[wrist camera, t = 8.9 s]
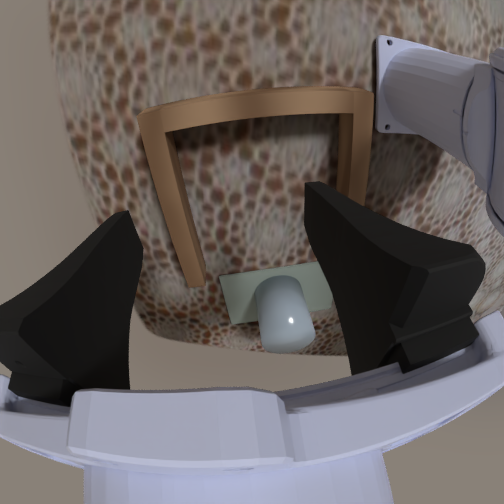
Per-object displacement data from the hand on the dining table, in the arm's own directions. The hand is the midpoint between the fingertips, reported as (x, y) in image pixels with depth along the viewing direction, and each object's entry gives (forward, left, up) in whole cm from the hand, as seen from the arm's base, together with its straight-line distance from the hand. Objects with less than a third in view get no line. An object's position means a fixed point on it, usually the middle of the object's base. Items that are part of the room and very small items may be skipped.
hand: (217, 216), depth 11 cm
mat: (-4, +17, -10) cm, 20 cm away
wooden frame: (-3, +4, -10) cm, 11 cm away
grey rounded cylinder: (-4, +16, -10) cm, 19 cm away
